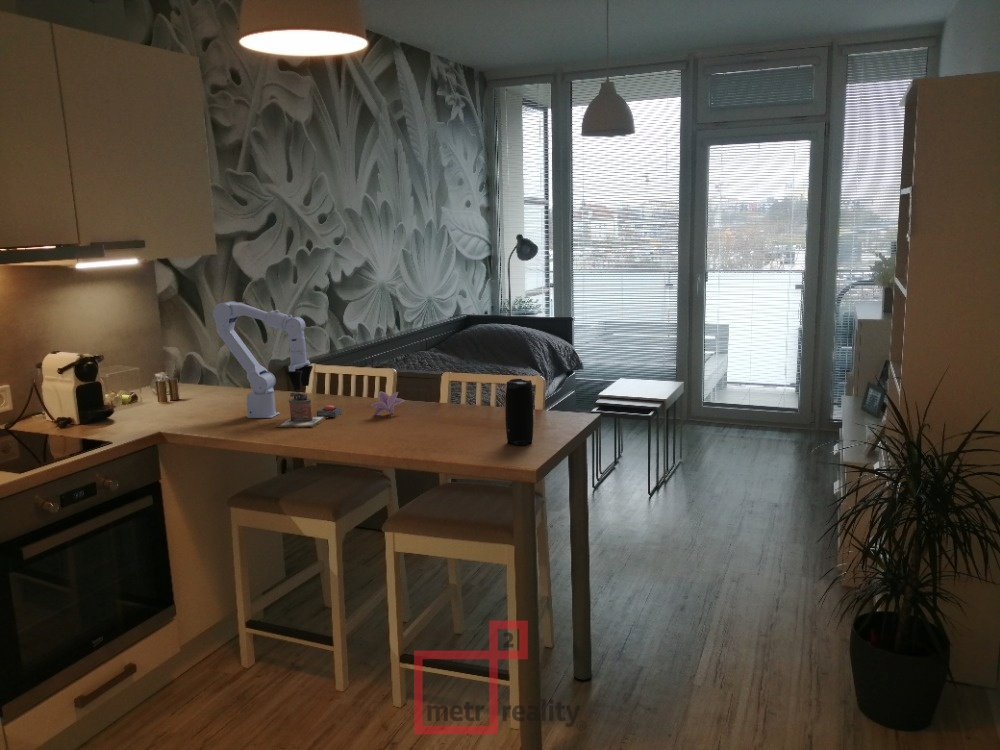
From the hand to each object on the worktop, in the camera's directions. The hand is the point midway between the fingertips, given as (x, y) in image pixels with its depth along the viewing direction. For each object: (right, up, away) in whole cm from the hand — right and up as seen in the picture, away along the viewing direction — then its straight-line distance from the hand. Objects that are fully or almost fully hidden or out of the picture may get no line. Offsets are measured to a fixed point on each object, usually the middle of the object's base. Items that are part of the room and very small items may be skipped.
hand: (301, 387), depth 285 cm
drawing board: (+3, -12, -9) cm, 15 cm away
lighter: (+2, -11, -9) cm, 15 cm away
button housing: (+10, -10, +1) cm, 14 cm away
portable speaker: (+78, -17, -42) cm, 90 cm away
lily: (+32, -10, -1) cm, 33 cm away
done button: (+10, -8, +1) cm, 13 cm away
